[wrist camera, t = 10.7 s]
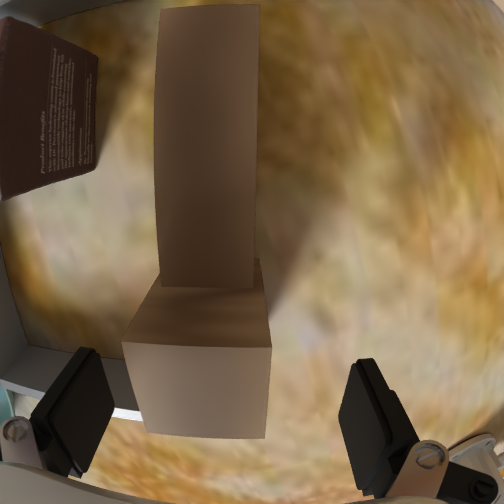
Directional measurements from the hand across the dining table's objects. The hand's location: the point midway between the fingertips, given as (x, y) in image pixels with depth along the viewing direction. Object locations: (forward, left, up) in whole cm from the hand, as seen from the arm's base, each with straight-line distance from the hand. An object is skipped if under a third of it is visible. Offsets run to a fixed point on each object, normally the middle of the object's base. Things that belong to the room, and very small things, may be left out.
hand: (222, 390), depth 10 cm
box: (+9, -10, -6) cm, 15 cm away
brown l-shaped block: (+1, -6, -6) cm, 8 cm away
